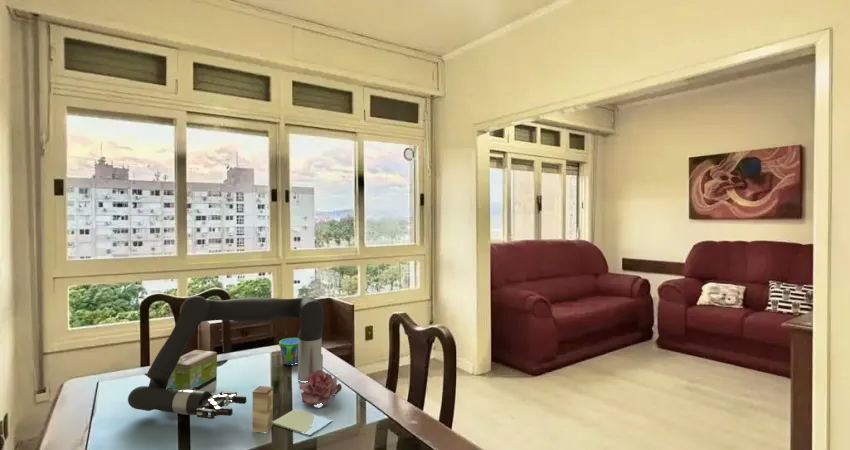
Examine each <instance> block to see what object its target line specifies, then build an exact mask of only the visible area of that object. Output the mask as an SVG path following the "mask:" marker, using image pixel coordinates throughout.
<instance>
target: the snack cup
mask: <svg viewBox="0 0 850 450" xmlns="http://www.w3.org/2000/svg"><path fill="white" fill-rule="evenodd" d="M278 345H279V347H280V354H281V361H282V364H283V365H284V364H286V366H288V365H291V364H295V363H298V337H287V338H286V337H285V338H282V339H281V340H279V341H278ZM291 366H292V365H291Z"/></svg>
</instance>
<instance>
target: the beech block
mask: <svg viewBox="0 0 850 450" xmlns="http://www.w3.org/2000/svg"><path fill="white" fill-rule="evenodd" d="M273 391H274V386H266V385H259V386H257V387H256V388H255V389H254V390H253V391H252V433H255V432H267V431H268V430H269V431H270V430H271V429H272V428H273V424H272V422H273V421H274V420H273V417H274V416H273V409H274V408H273V402H274V401H273V400H274V397H273V395H274V393H273ZM269 431H268V432H269ZM268 432H267V433H268Z"/></svg>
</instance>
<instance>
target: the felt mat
mask: <svg viewBox="0 0 850 450" xmlns="http://www.w3.org/2000/svg"><path fill="white" fill-rule="evenodd" d="M312 414H313V413H312V412H307V411H305V410H302V409H298V408H294V409H292V410H291V411H289V412H287V413H286V414H283V415H282V416H280V417H278V418H277V419H275V420H273V422H272V425H275V426H277V427H280V428H283V429H286V428H287V430H289V429H290V430H289V431H292V430H294V431H293V432H295V431H297V432H296V433H298V432H304V433H306V432H307V431H308V430H309V429H311V428H312V426H310V424H311V425H312V423H313V419H314V416H313V415H312Z"/></svg>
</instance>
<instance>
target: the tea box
mask: <svg viewBox="0 0 850 450" xmlns="http://www.w3.org/2000/svg"><path fill="white" fill-rule="evenodd" d="M217 370H218V351H217V352H216V351H210V350H209V351H208V350H201V349H194V350H192V351H189V352H187V353H185V354H182V355H181V357H180V359H179V361H178V363H177V365H176V367H175V369H174V371H173V372H172V374H171V376H170V378H169V380H168V385H167V388H166V389H177V390H201V391H209V392H210V393H211V392H213V391H216V389H217V377H218V376H217V374H218V371H217Z"/></svg>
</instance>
